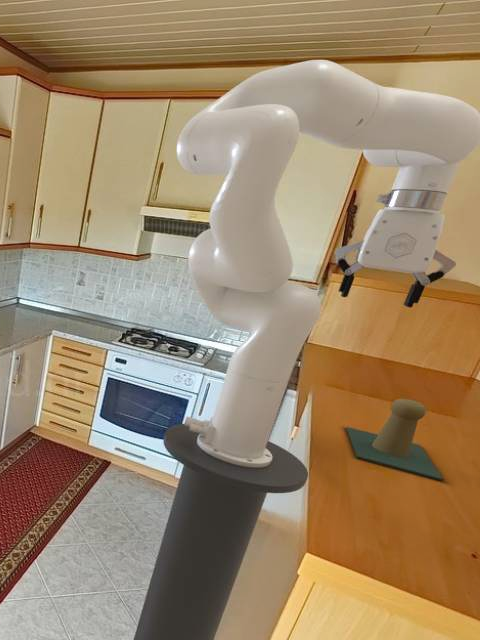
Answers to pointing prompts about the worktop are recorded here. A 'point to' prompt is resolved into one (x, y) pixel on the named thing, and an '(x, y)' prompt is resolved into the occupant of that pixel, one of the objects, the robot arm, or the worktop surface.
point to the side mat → (411, 464)
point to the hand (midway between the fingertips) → (374, 301)
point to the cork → (400, 428)
